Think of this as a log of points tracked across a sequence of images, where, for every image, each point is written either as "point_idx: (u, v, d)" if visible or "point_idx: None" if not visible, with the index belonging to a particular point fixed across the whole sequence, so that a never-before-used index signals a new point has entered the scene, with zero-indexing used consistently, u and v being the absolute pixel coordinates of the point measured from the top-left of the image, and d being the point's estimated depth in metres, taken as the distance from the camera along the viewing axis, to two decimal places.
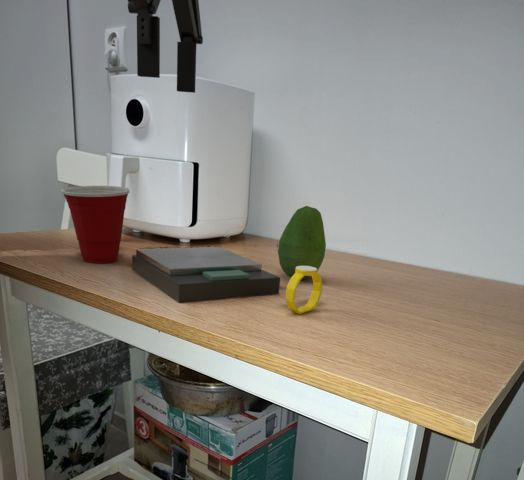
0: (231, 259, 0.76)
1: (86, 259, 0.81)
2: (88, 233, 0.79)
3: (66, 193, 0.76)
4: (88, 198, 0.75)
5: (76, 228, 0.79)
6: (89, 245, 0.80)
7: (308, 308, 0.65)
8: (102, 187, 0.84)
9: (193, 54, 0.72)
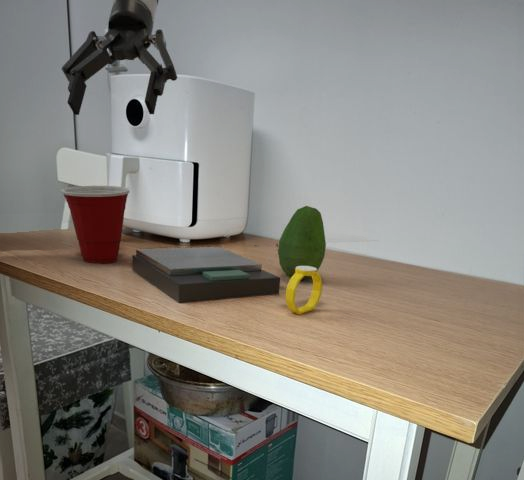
0: (231, 259, 0.76)
1: (86, 259, 0.81)
2: (88, 233, 0.79)
3: (66, 193, 0.76)
4: (88, 198, 0.75)
5: (76, 228, 0.79)
6: (89, 245, 0.80)
7: (308, 308, 0.65)
8: (102, 187, 0.84)
9: (84, 91, 0.86)
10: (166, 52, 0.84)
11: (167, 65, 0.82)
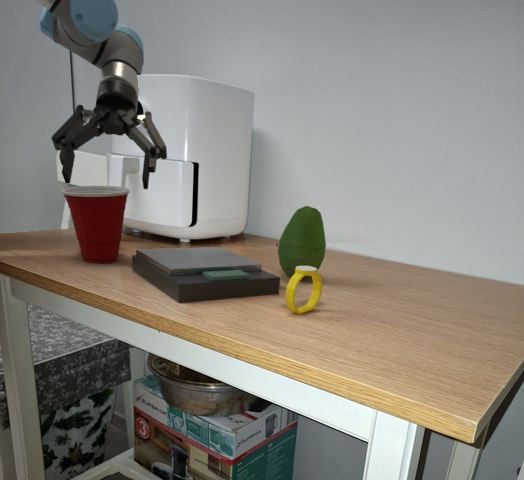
0: (231, 259, 0.76)
1: (86, 259, 0.81)
2: (88, 233, 0.79)
3: (66, 193, 0.76)
4: (88, 198, 0.75)
5: (76, 228, 0.79)
6: (89, 245, 0.80)
7: (308, 308, 0.65)
8: (102, 187, 0.84)
9: (73, 161, 0.88)
10: (158, 133, 0.90)
11: (160, 146, 0.89)
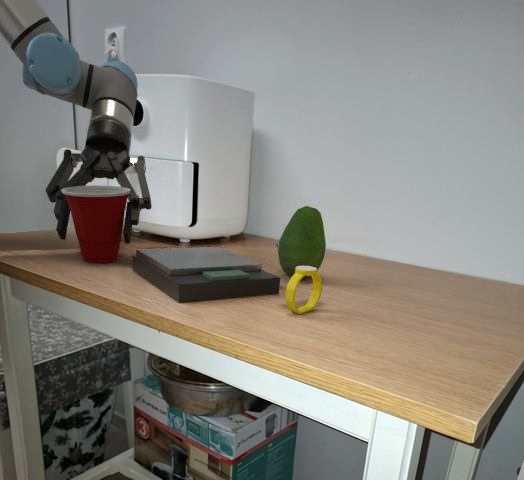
0: (231, 259, 0.76)
1: (86, 259, 0.81)
2: (88, 233, 0.78)
3: (66, 193, 0.76)
4: (88, 199, 0.75)
5: (76, 228, 0.79)
6: (89, 245, 0.80)
7: (308, 308, 0.65)
8: (103, 187, 0.84)
9: (69, 214, 0.82)
10: (145, 182, 0.83)
11: (144, 196, 0.82)
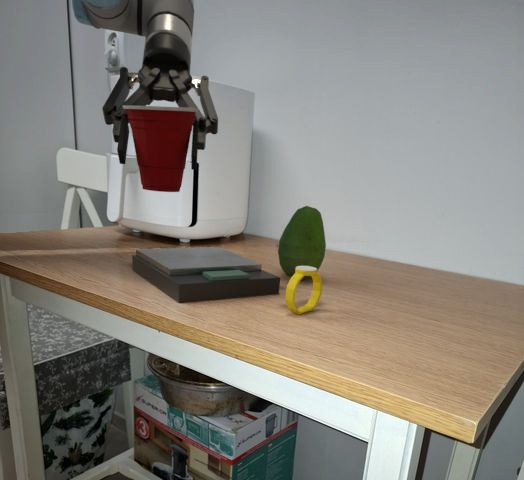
0: (231, 259, 0.76)
1: (147, 187, 0.73)
2: (152, 155, 0.70)
3: (130, 106, 0.67)
4: (155, 112, 0.66)
5: (138, 150, 0.71)
6: (152, 170, 0.71)
7: (308, 308, 0.65)
8: None
9: None
10: (211, 102, 0.75)
11: (211, 117, 0.73)
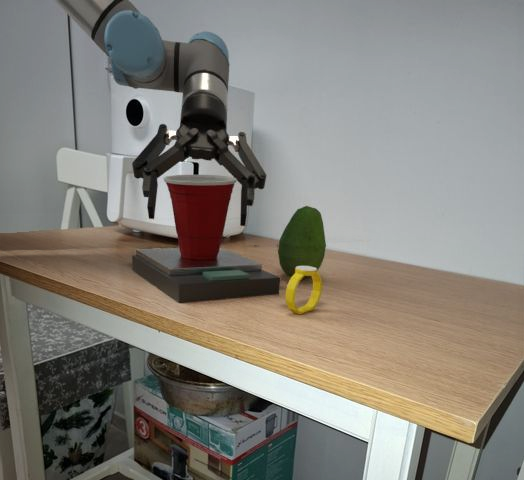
0: (231, 259, 0.76)
1: (186, 255, 0.74)
2: (192, 227, 0.71)
3: (172, 181, 0.68)
4: (197, 187, 0.67)
5: (178, 221, 0.71)
6: (192, 239, 0.72)
7: (308, 308, 0.65)
8: (201, 176, 0.76)
9: (156, 192, 0.74)
10: (255, 159, 0.76)
11: (259, 174, 0.75)
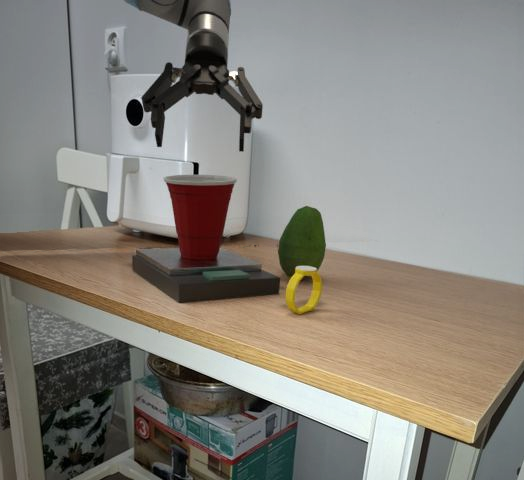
0: (231, 259, 0.76)
1: (186, 255, 0.74)
2: (192, 227, 0.71)
3: (172, 181, 0.68)
4: (197, 187, 0.67)
5: (178, 221, 0.71)
6: (192, 239, 0.72)
7: (308, 308, 0.65)
8: (201, 176, 0.76)
9: None
10: (252, 90, 0.83)
11: (256, 104, 0.82)
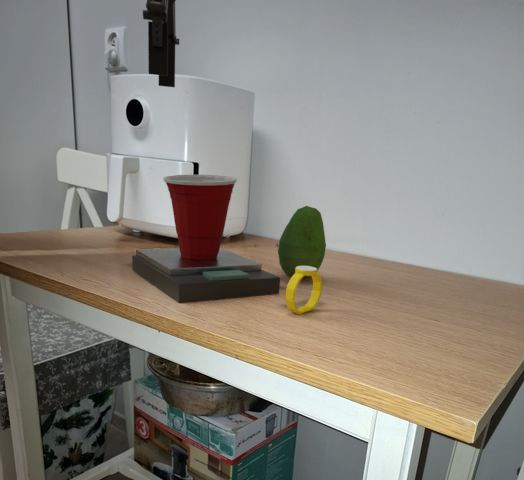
0: (231, 259, 0.76)
1: (186, 255, 0.74)
2: (192, 227, 0.71)
3: (172, 181, 0.68)
4: (197, 187, 0.67)
5: (178, 221, 0.71)
6: (192, 240, 0.72)
7: (308, 308, 0.65)
8: (201, 176, 0.76)
9: (173, 53, 0.82)
10: None
11: None
